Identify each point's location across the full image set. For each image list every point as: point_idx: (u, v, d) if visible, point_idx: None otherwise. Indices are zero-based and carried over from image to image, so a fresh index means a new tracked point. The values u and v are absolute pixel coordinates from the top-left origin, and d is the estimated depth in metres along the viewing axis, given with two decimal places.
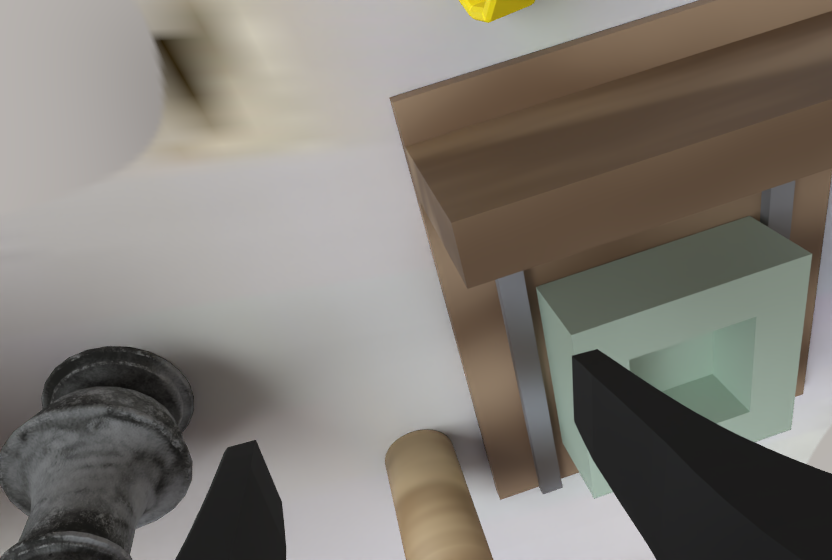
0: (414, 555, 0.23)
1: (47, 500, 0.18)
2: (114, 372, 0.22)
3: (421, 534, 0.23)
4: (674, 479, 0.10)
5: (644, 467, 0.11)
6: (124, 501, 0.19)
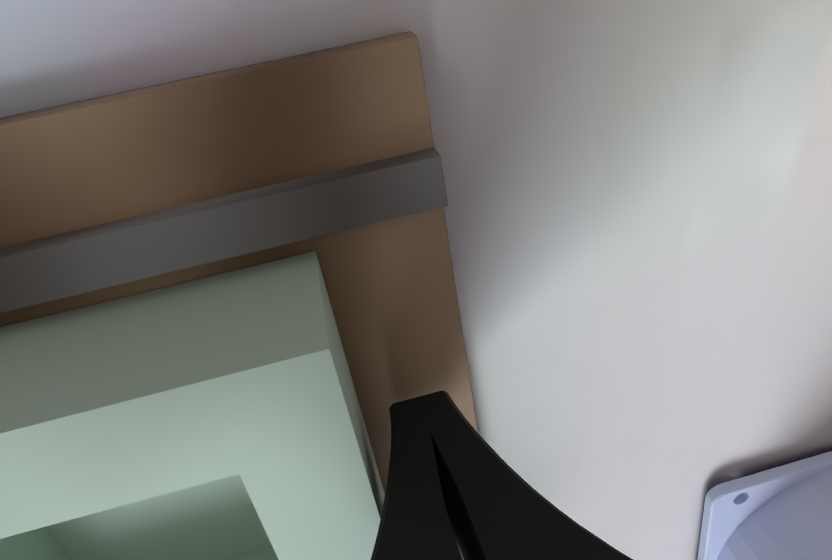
0: None
1: None
2: None
3: None
4: (473, 538, 0.10)
5: (461, 519, 0.11)
6: None
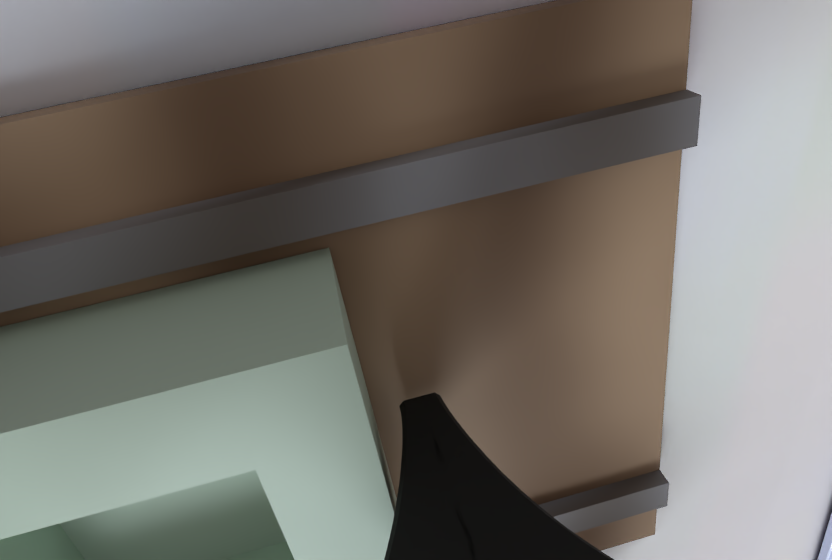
0: None
1: None
2: None
3: None
4: None
5: None
6: None
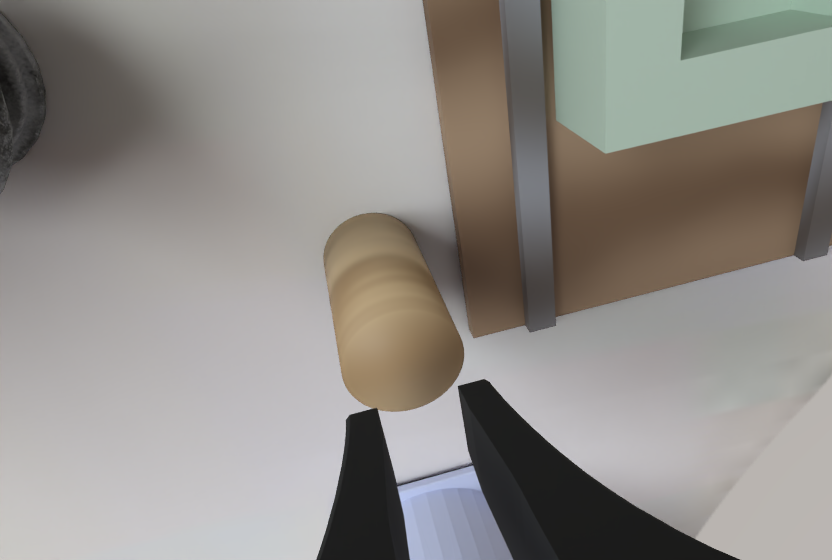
0: (348, 328, 0.15)
1: None
2: None
3: (362, 303, 0.16)
4: (527, 522, 0.10)
5: (510, 506, 0.11)
6: None
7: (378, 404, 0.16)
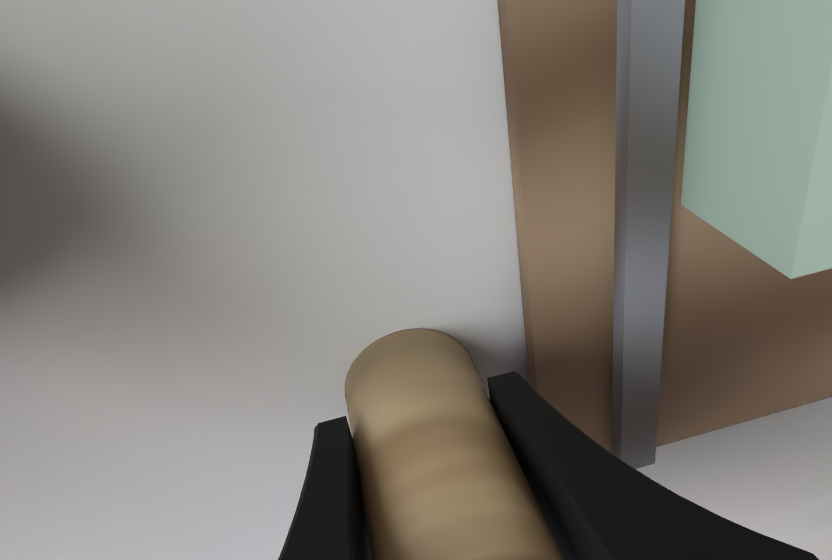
0: None
1: None
2: None
3: (416, 521, 0.10)
4: (565, 511, 0.10)
5: (546, 496, 0.11)
6: None
7: None
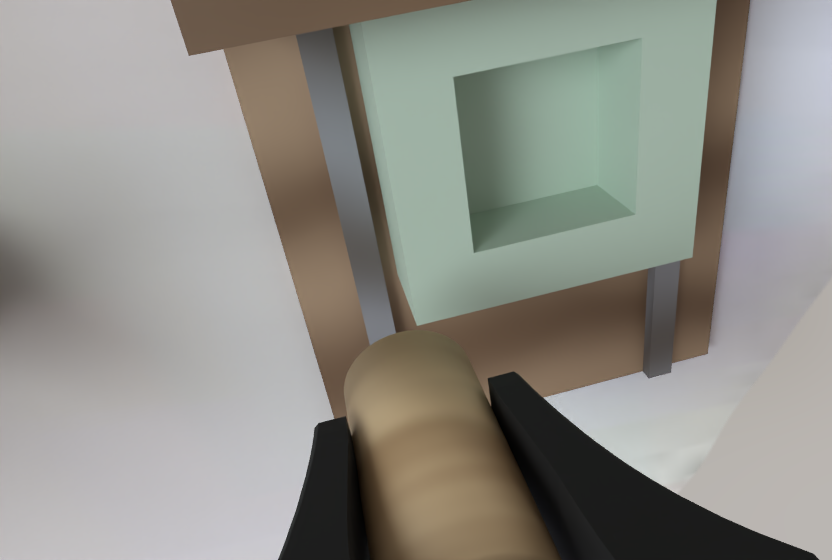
0: None
1: None
2: None
3: (417, 522, 0.10)
4: (565, 511, 0.10)
5: (545, 495, 0.11)
6: None
7: None
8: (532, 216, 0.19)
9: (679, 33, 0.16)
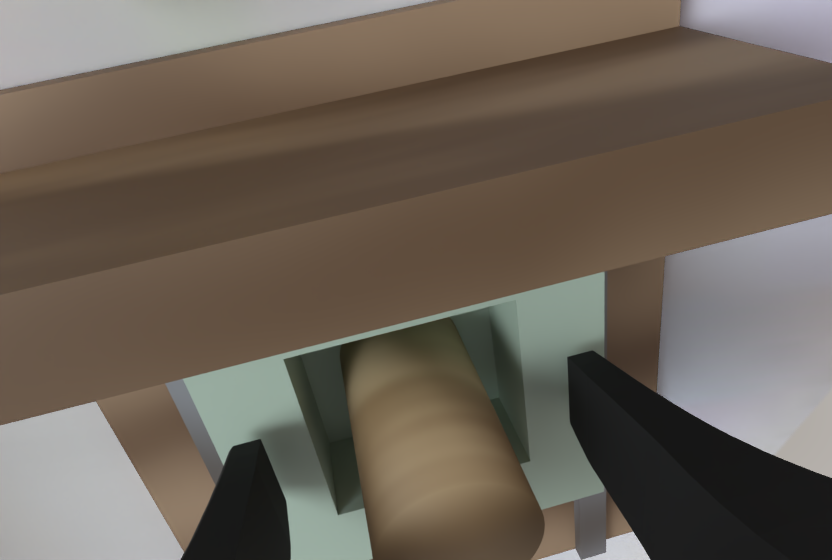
0: (385, 499, 0.11)
1: None
2: None
3: (405, 459, 0.11)
4: (668, 481, 0.10)
5: (639, 468, 0.11)
6: None
7: None
8: None
9: (562, 291, 0.13)
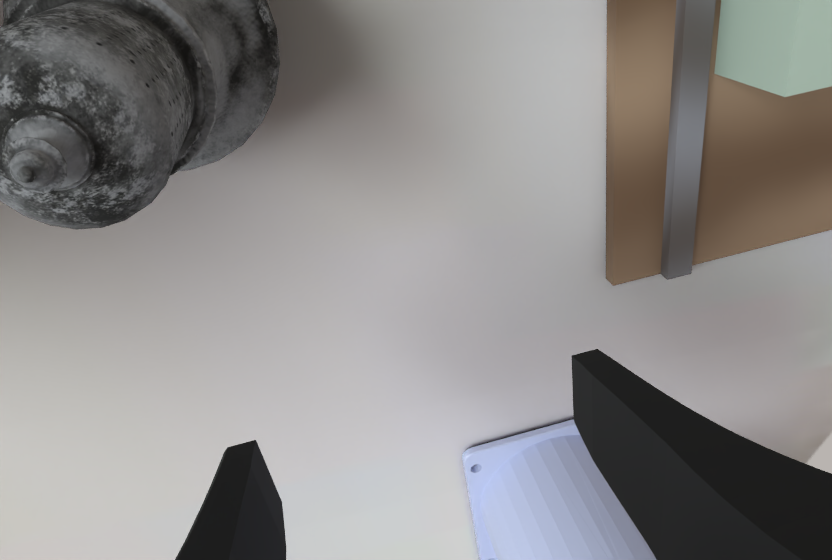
0: None
1: None
2: None
3: None
4: (674, 479, 0.10)
5: (644, 467, 0.11)
6: (198, 36, 0.12)
7: None
8: None
9: None
